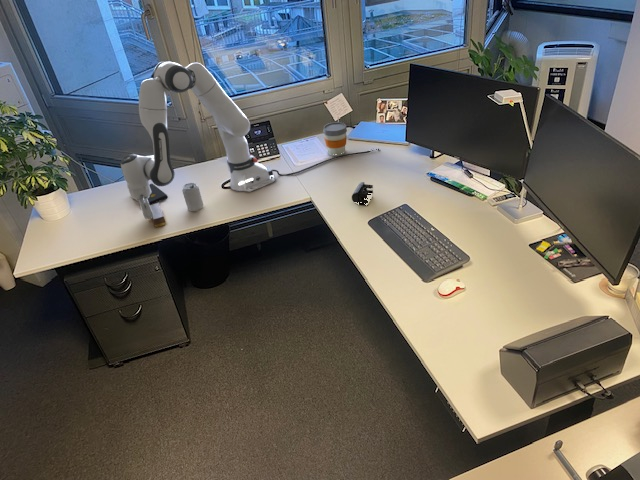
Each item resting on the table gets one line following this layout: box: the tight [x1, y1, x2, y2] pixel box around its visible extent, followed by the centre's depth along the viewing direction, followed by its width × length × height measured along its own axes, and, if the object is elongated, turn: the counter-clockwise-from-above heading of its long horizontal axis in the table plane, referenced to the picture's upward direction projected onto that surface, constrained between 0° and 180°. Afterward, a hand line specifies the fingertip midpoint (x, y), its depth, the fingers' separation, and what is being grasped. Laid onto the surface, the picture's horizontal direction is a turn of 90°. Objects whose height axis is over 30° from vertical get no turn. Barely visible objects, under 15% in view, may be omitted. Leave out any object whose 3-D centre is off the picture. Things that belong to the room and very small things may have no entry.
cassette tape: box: [148, 183, 168, 205], centre depth 231 cm, size 18×12×2 cm, turn 40°
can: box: [181, 182, 204, 212], centre depth 215 cm, size 8×8×12 cm
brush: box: [150, 202, 166, 228], centre depth 212 cm, size 5×14×4 cm, turn 25°
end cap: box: [351, 181, 374, 207], centre depth 208 cm, size 10×7×7 cm
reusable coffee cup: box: [322, 121, 348, 157], centre depth 250 cm, size 13×13×15 cm
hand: (149, 217), depth 211 cm, fingers closed, pressing on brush
